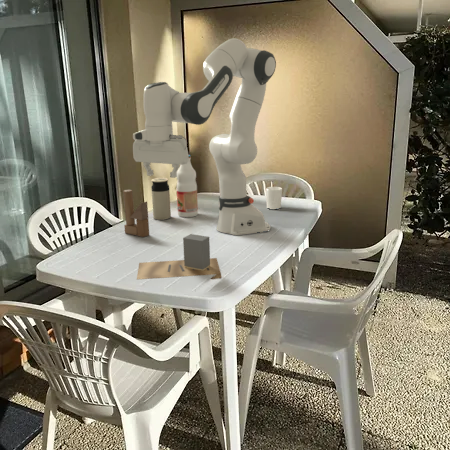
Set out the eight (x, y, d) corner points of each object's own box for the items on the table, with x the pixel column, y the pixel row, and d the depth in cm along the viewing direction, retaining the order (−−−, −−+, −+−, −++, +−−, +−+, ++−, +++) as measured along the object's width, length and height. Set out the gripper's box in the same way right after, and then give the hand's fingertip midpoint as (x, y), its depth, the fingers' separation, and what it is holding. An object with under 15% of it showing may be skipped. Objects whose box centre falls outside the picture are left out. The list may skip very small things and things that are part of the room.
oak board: (216, 262, 158) (216, 257, 157) (221, 278, 144) (221, 273, 144) (139, 266, 155) (139, 262, 154) (137, 283, 141) (136, 279, 141)
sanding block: (184, 267, 149) (183, 237, 147) (191, 262, 153) (190, 234, 150) (203, 270, 146) (202, 240, 143) (210, 265, 150) (209, 236, 147)
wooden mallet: (143, 237, 185) (140, 193, 180) (124, 233, 191) (121, 190, 186) (149, 235, 188) (146, 192, 183) (131, 231, 194) (127, 189, 189)
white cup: (282, 210, 221) (282, 190, 218) (266, 210, 222) (266, 190, 219) (280, 206, 229) (281, 186, 226) (265, 206, 229) (265, 186, 226)
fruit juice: (194, 218, 211) (192, 157, 203) (175, 217, 213) (172, 156, 205) (200, 212, 220) (198, 153, 212) (181, 211, 222) (178, 153, 214)
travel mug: (169, 220, 209) (167, 181, 204) (152, 220, 209) (149, 181, 204) (171, 215, 216) (169, 177, 211) (155, 215, 217) (152, 177, 211)
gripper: (191, 134, 148) (193, 176, 152) (140, 132, 157) (143, 172, 161) (180, 136, 143) (182, 180, 147) (128, 134, 152) (131, 175, 156)
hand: (161, 176), depth 154 cm, fingers open, 8 cm apart
